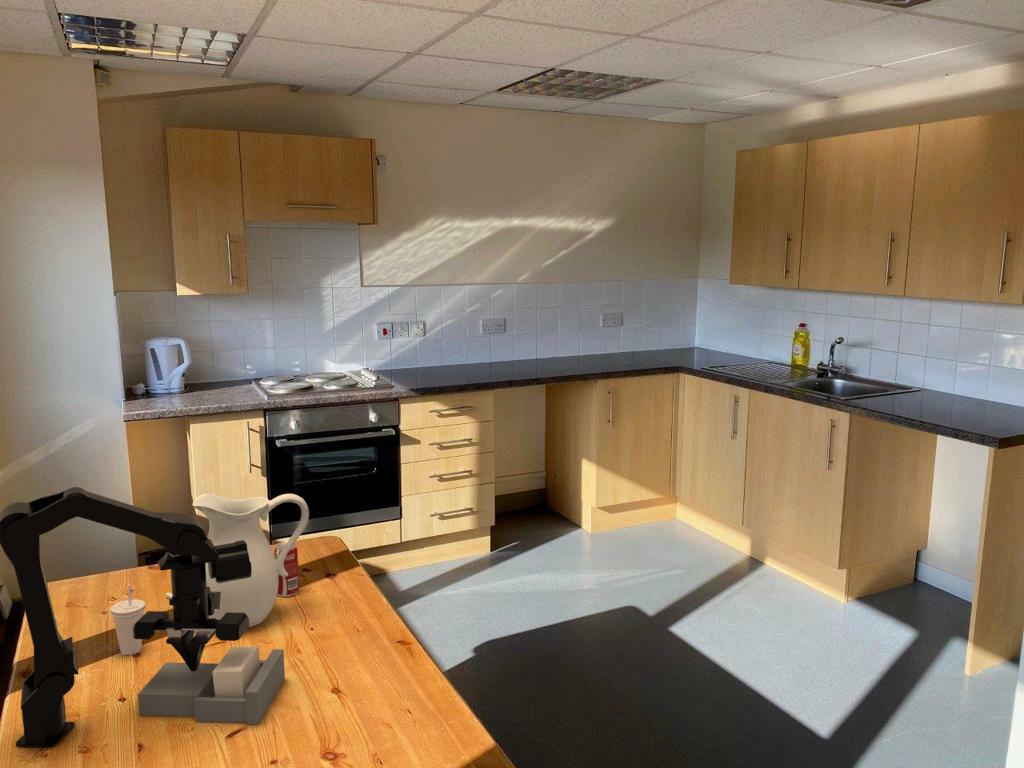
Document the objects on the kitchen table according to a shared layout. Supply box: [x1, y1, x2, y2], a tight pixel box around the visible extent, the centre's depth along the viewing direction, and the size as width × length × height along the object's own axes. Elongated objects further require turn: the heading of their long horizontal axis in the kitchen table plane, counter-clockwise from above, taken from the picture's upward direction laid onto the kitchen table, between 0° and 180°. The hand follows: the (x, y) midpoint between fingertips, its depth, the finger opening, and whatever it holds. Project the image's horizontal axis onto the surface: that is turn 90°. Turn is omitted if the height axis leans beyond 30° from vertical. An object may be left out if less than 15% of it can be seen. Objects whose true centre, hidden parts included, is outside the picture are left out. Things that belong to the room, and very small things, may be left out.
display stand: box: [137, 648, 286, 726], centre depth 146 cm, size 15×22×6 cm
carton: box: [212, 645, 261, 698], centre depth 146 cm, size 9×8×5 cm
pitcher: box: [192, 493, 310, 629], centre depth 177 cm, size 24×17×28 cm
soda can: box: [273, 540, 300, 598], centre depth 191 cm, size 5×5×12 cm
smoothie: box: [110, 584, 147, 656], centre depth 163 cm, size 6×6×14 cm
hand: (194, 670), depth 146 cm, fingers closed
